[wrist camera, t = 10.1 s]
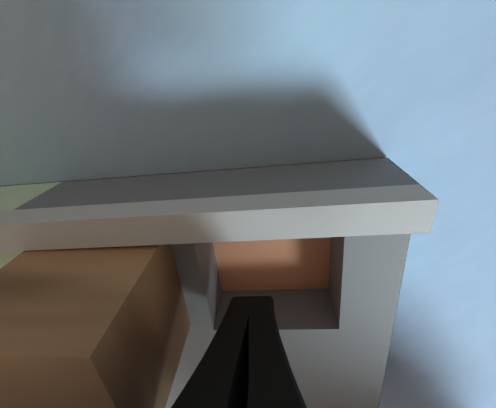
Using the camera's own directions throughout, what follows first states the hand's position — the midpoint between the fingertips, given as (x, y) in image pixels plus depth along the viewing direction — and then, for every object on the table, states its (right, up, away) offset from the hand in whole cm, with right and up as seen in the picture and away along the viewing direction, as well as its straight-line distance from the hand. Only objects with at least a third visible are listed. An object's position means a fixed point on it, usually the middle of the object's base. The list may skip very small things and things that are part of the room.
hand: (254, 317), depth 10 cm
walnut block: (-5, +1, +1) cm, 5 cm away
